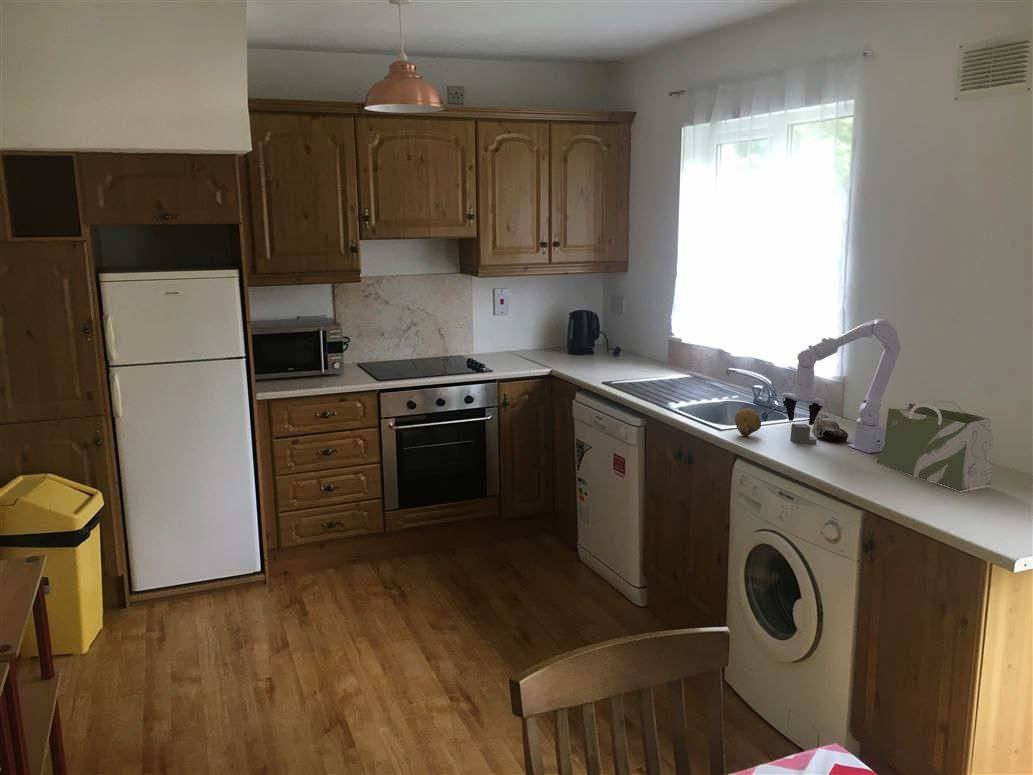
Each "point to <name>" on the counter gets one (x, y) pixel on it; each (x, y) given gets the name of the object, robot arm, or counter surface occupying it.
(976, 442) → the grocery bag
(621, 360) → the counter surface
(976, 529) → the counter surface
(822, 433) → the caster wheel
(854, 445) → the robot arm
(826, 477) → the counter surface
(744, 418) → the natural sponge
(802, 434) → the stepped grey block
